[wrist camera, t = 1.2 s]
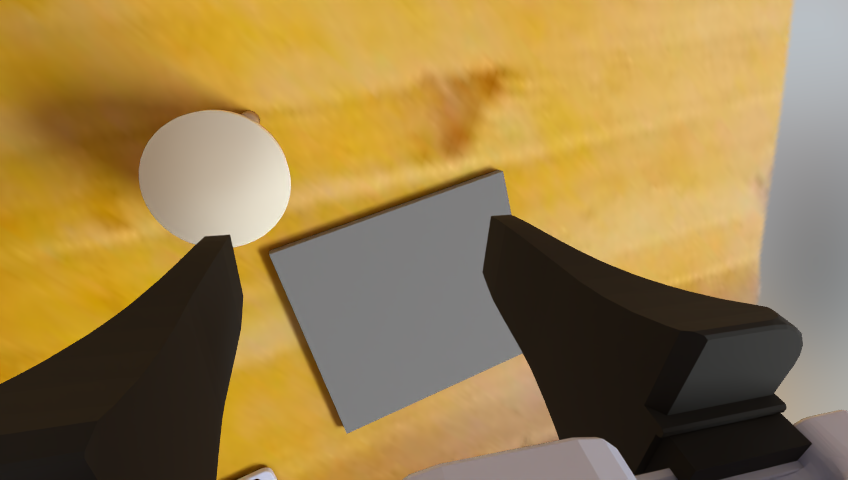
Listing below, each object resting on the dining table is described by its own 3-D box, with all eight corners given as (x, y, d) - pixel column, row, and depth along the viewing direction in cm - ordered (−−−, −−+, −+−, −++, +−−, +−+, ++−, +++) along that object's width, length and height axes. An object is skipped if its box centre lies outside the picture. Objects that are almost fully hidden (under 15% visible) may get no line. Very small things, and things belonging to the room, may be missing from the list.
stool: (200, 226, 22) (179, 267, 17) (150, 125, 20) (109, 135, 15) (300, 193, 23) (309, 222, 18) (262, 93, 21) (260, 93, 16)
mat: (345, 427, 29) (346, 433, 28) (269, 250, 24) (269, 254, 23) (531, 342, 32) (536, 347, 31) (498, 169, 27) (503, 171, 26)
